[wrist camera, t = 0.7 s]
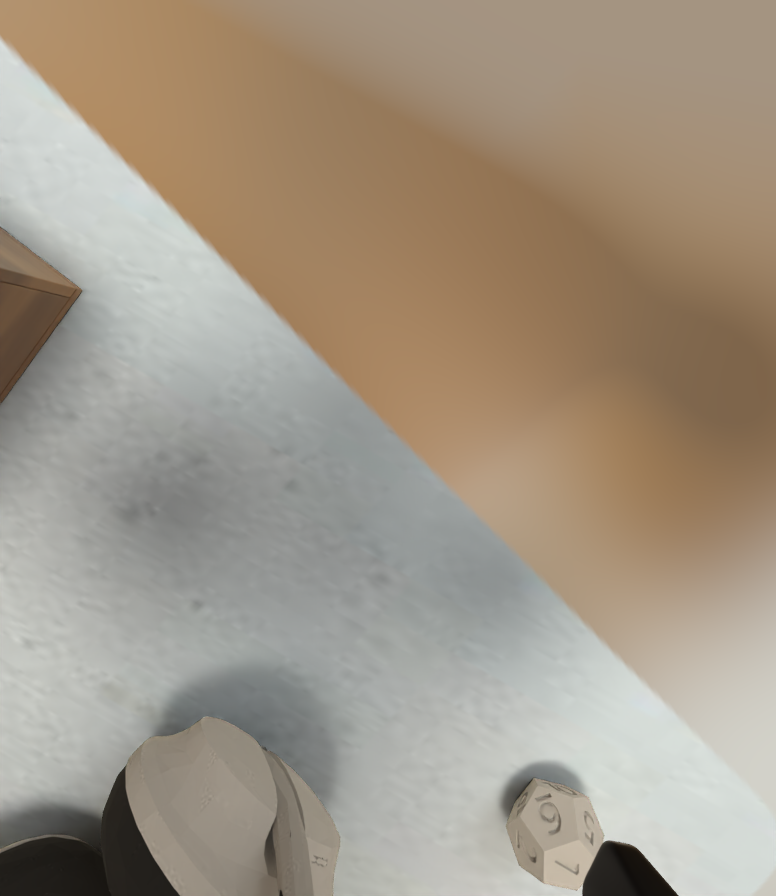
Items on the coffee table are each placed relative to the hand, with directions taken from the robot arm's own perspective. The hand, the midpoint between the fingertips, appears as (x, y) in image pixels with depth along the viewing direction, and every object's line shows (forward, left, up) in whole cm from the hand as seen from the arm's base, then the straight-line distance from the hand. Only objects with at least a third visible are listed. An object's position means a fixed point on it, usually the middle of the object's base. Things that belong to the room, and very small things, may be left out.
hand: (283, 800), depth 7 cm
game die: (-4, -15, -14) cm, 20 cm away
